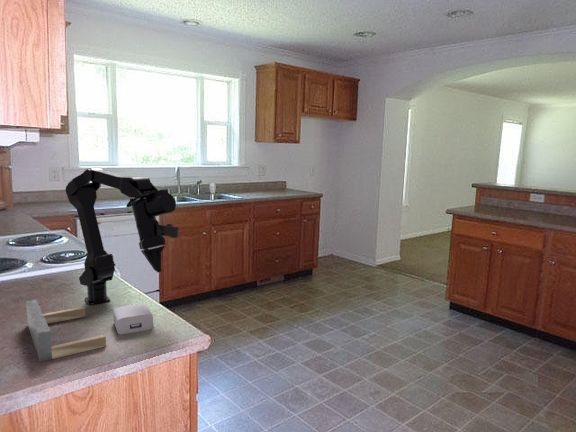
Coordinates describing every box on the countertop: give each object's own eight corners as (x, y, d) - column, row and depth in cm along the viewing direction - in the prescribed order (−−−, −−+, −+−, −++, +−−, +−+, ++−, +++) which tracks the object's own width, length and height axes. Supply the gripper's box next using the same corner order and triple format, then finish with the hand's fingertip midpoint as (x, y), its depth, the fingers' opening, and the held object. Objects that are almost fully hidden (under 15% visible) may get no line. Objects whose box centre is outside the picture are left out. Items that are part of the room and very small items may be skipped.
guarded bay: (27, 325, 118) (26, 301, 117) (84, 314, 127) (83, 292, 126) (39, 361, 99) (37, 333, 97) (106, 346, 107) (104, 319, 106)
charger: (142, 311, 131) (153, 329, 118) (110, 316, 127) (117, 335, 114) (142, 296, 130) (152, 313, 117) (110, 301, 126) (117, 318, 113)
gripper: (177, 210, 119) (190, 265, 119) (170, 215, 136) (181, 263, 136) (135, 219, 114) (149, 276, 115) (133, 223, 132) (145, 272, 132)
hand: (158, 271), depth 125 cm, fingers open, 9 cm apart
